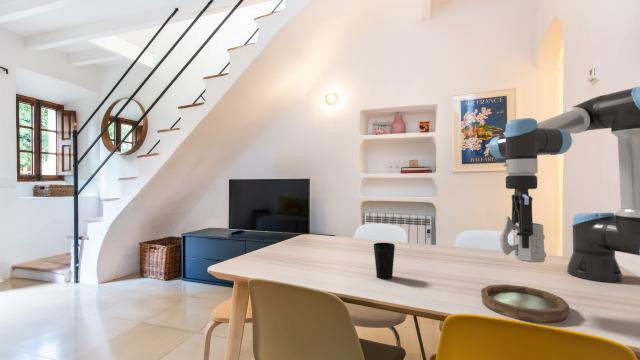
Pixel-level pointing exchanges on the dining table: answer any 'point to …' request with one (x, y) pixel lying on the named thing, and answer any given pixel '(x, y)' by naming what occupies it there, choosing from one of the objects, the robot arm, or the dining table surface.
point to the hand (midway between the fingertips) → (521, 256)
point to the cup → (384, 260)
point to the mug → (536, 241)
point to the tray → (525, 303)
